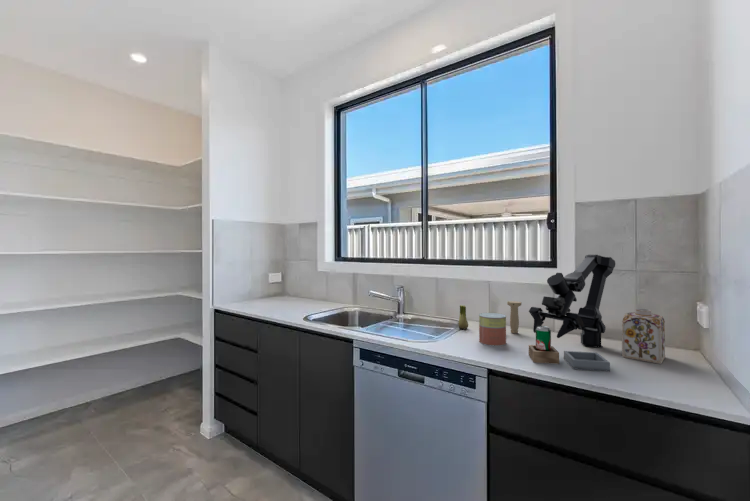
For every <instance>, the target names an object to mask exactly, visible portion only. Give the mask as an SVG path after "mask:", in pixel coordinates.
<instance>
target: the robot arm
mask: <svg viewBox="0 0 750 501" xmlns="http://www.w3.org/2000/svg"><path fill="white" fill-rule="evenodd" d="M615 267H616V261H615V260H614V259H613V257H611V256H609V257H608V256H602V255H600V254H599V255H598V254H586V255H585V256H584V259H583V260H582V262H581V263H580V264H579V265H578V266H577V267H576V268H575V270H574V271H572V272H570V273H567V274H566V275H564V274H563V273H562V272H556V273H555V274H553V275H551V276H550V277H547V280H546V281H547V282H546V283H547V284H548V286H549V288H550V289H551V291H552V292H553V293H554V295H556V296H555V297H553V296H543V297H542V301H541V305H542V306H545V310H546V311H544V310H543V309H542V308H541V307H536V306H530V308H529V310H528V312H529V314H530V315H531V316H532V318H533V329H532V330H533V333H535V334H536V328H537V326H543V324H544V321H545V320H546V318H547V319H553V320H556V321H562V324H561V326H560V328H559V330H558V331H557V334H556V337H557V339H560V338H562V337H564V336H565V335H566V334H568V333H570V332H573V331H574V330H576V331H577V330H579V331H580V330H581V332H580V344H581V345H583V346H584V347H587V348H604V346H603V345H602V334H605V332H606V327H607V326H606V324H605V323H604V321H603V320H602V318H603V316H602V314H601V312H600V306H601V302H602V298H603V294H604V290H605V285H606V280H607V278H608V277H609V276H610V275H612V274H613V272H614V269H615ZM591 273H592V279H591V283H590V287H589V290H588V294H587V299H586V302H585V306H583V307H579V309H578V312H571V309H570V308H571V305H572V303H573V302H574V303H575V302H577V297H576V294H575V293H574V292H576V293H581V292H583V290H584V288H585V286H586V279H587V278H588V276H589V275H590V274H591Z"/></svg>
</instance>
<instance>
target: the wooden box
mask: <svg viewBox="0 0 750 501" xmlns="http://www.w3.org/2000/svg"><path fill="white" fill-rule="evenodd" d="M528 356H529V358H530V360H531V361H532V363H538V364H551V365H552V364H553V365H560V352H559V351H558V350H557V348H555V347H554V346H553V345H551V352H550V351H536V344H528Z"/></svg>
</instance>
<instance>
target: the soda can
mask: <svg viewBox="0 0 750 501" xmlns="http://www.w3.org/2000/svg"><path fill="white" fill-rule="evenodd" d="M535 345H536V351H550V352H551V346H552V330H551V329H550V326H545V325H542V326H537V328H536V333H535Z"/></svg>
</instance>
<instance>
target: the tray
mask: <svg viewBox="0 0 750 501" xmlns="http://www.w3.org/2000/svg"><path fill="white" fill-rule="evenodd" d="M563 359H564V361H565V362H566V363H567V364H568V365H569V367H571V368H572V369H573V370H582V371H583V370H585V371H597V372H598V371H599V372H611V362H610V361H608V359H606V358H605V357H603V356H602V355H601V354H600V353H598V352H592V351H590V352H589V351H576V350H572V351H571V350H563Z"/></svg>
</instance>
